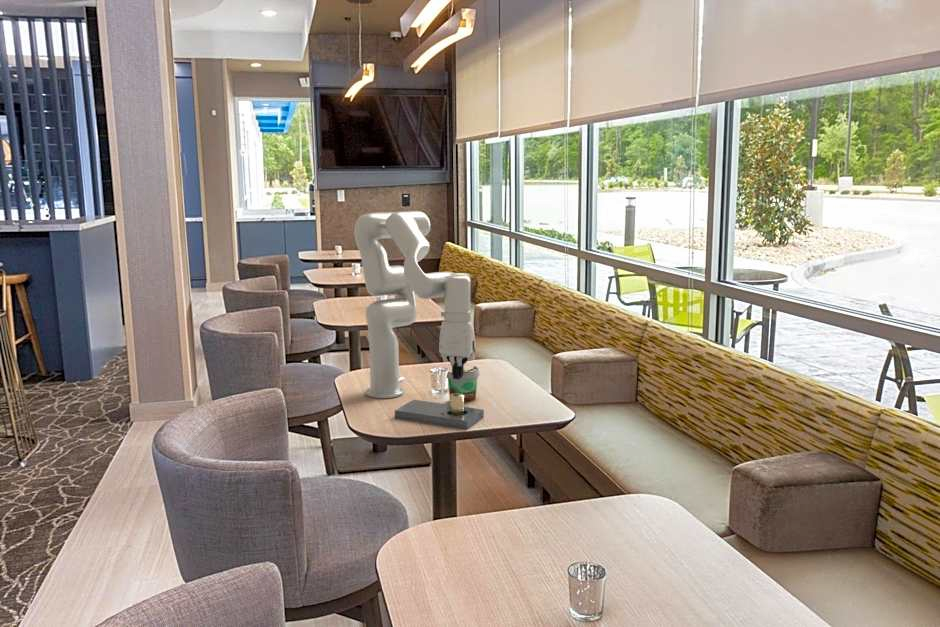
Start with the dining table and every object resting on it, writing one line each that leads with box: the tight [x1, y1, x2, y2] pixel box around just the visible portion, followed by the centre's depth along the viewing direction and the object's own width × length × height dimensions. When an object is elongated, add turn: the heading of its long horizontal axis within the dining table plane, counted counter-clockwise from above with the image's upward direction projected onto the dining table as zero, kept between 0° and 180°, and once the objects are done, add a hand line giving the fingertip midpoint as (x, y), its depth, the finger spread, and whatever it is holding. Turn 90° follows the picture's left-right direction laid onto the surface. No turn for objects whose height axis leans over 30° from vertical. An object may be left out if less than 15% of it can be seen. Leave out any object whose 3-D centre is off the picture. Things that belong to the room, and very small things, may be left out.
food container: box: [446, 365, 481, 403], centre depth 250 cm, size 12×6×10 cm, turn 131°
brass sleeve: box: [449, 393, 465, 416], centre depth 230 cm, size 4×4×8 cm
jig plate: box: [394, 399, 485, 430], centre depth 233 cm, size 12×24×2 cm, turn 65°
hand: (457, 378), depth 228 cm, fingers closed
